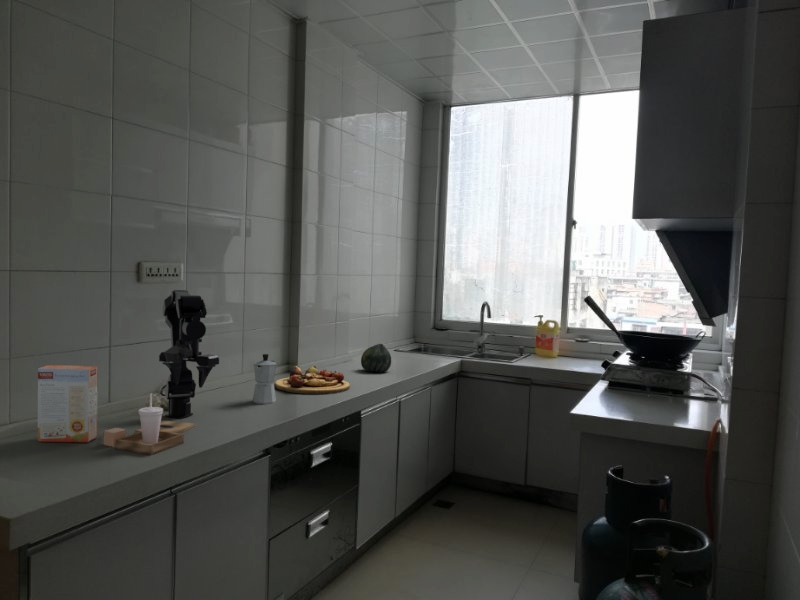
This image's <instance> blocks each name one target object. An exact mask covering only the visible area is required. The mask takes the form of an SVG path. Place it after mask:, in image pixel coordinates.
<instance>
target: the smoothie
mask: <svg viewBox="0 0 800 600" xmlns="http://www.w3.org/2000/svg"><path fill="white" fill-rule="evenodd" d="M137 413H138V415H139V420H140V428H141V430H142V438H143V443H144V444H150V445H152V444H155V443H158V437H159V430H160V423H161V421H162V415H163V413H164V408H162V407H160V406H153V393H152V392H151V393H149V406H146V407H142V408H140V409H138V412H137Z"/></svg>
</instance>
